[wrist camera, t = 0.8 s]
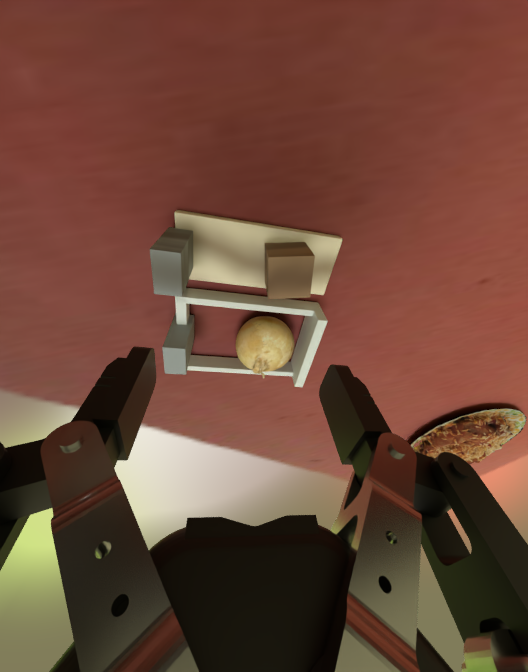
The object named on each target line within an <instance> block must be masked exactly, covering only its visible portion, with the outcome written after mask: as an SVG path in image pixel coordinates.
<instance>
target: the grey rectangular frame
mask: <svg viewBox="0 0 528 672" xmlns="http://www.w3.org/2000/svg"><path fill="white" fill-rule="evenodd" d="M175 301H176V313H175V316H174V319H173V321H172V324H171V326H170V329H169V332H168V334H167V337H166V340H165V342H164V345H163V358H164V368H165V373H169V374H186V372H187V370H194V371H211V372H228V373H245V374H255V373H254V372H253V370H252V369H249V368H247V367H246V366H245V365H244V364H243V363H242V362H241V361H240V360H239V358H228V357H214V356H199V355H191V351H192V346H193V342H194V315H190V304H197V305H207V306H217V307H227V308H236V309H246V310H256V311H266V312H276V313H285V314H295V315H305V318H304V321H303V324H302V328H301V331H300V334H299V337H298V340H297V344H296V347H295V350H294V353H293V356H292V359H291V362H287V363H286V364H285V365H284V366H282V367H281V368H279V369H276V370H273V371H268V372H262V373H264V375H279V376H292V378H293V382H294V386H295V387H303V384H304V382H305V379H306V377H307V374H308V371H309V369H310V366H311V363H312V361H313V358H314V356H315V353H316V350H317V348H318V345H319V342H320V340H321V337H322V335H323V332H324V329H325V327H326V324H327V319H326V317H325V315H324V313H323V311H322V309H321V307H320V305H319V303H318V302H309V301H300V300H291V299H268V297H264V296H255V295H247V294H238V293H229V292H220V291H211V290H202V289H193V288H185V290H184V293H183V296H182V297H180V296H175ZM257 374H258V373H257ZM260 374H261V373H260Z"/></svg>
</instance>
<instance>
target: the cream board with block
mask: <svg viewBox="0 0 528 672" xmlns="http://www.w3.org/2000/svg"><path fill="white" fill-rule="evenodd" d="M342 240H343V239H342V238H341V237H340V236H335V235H329V234H323V233H317V232H311V231H304V230H298V229H292V228H286V227H280V226H274V225H267V224H261V223H255V222H249V221H243V220H237V219H230V218H224V217H218V216H212V215H206V214H199V213H193V212H187V211H181V210H176V211H175V228H172V227H169V228H168V229H167V230H166V231H165V232H164V234H163V235H162V236H161V237H160V238H159V239H158V240H157V241H156V243H155V244H154V245H153V246H152V247H151V248H150V257H151V266H152V276H153V286H154V294H161V295H171V296H180V297H182V296H183V293H184V290H185V288H186V285H187V283H188V280H189V279H192V280H200V281H209V282H217V283H225V284H234V285H242V286H251V287H259V288H266V285H265V243H283V242H305V243H306V244H307V245H308V247H309V248H310V250H311V251H312V252H313V254H314V255H315V260H314V268H313V277H312V285H311V293H310V294H319V295H324V292H325V289H326V287H327V284H328V281H329V278H330V275H331V272H332V269H333V266H334V263H335V260H336V258H337V255H338V252H339V249H340V246H341V243H342Z"/></svg>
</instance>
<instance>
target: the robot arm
mask: <svg viewBox="0 0 528 672" xmlns="http://www.w3.org/2000/svg"><path fill="white" fill-rule="evenodd" d="M155 383H156V365H155V353H154V349H153V348H146V347H133V348H132V350H131V351H130V353H129V355H128V357H127V358H117V359H116V360H114V361H113V362H112V363H110V364H109V365H108V366H107V367H106V368H105V370H104V372H103V373H102V375H101V378H99V379H98V381H97V382H96V384H95V386H94V387H93V389H92V390H91V392H90V393H89V395H88V396H87V398H86V400H85V401H84V403H83V404H82V406H81V407H80V409H79V410H78V412H77V414H76V415H75V417H74V418H73V420H72V421H71V422H70V423H67V424H65V425H62V426H60V427H59V428H57V429H55V430H54V431H53V432H51V433H50V434H49V435H48V436H47V437H46V438H45V439H42V440H38V441H34V442H30V443H25V444H21V445H16V446H12V447H8V448H5V447H4V446H3V444H1V443H0V570H1V568H2V566H3V565H4V563H5V560H6V559H7V557H8V555H9V553H10V551H11V550H12V547H13V546H14V544H15V542H16V540H17V538H18V536H19V535H20V533H21V531H22V529H23V527H24V525H25V523H26V521H27V519H28V518H29V516H30V515H31V514H34V513H37V512H40V511H43V510H46V509H49V508H53V515H54V516H53V518H52V519H51V527H52V534H53V539H54V544H55V549H56V554H57V559H58V564H59V568H60V574H61V579H62V584H63V589H64V593H65V598H66V603H67V608H68V613H69V618H70V623H71V628H72V633H73V638H74V642H73V643H72V644H71V646H70V647H69V648H68V649H67V651H66V652H65V653H64V654H63V656H62V657H61V658H60V659H59V661H58V662H57V663H56V664H55V665H54V667H53V668H52V669H51V670H50V672H454V671H453V670H452V669H451V668H450V667H449V665H448V664H447V663H446V662H445V661H444V659H443V658H442V657H441V656H440V654H439V653H438V652H437V651H436V650H435V648H434V647H433V646H432V645H431V644H430V643H429V641H428V640H427V639H426V638H425V637H424V635H423V634H422V633H421V632H420V630H419V629H418V628H417V614H418V593H419V572H420V553H421V544H422V547H423V549H424V551H425V554H426V556H427V558H428V561H429V563H430V565H431V567H432V570H433V572H434V574H435V577H436V579H437V581H438V584H439V586H440V588H441V591H442V593H443V595H444V597H445V600H446V602H447V604H448V607H449V609H450V611H451V614H452V616H453V618H454V620H455V623H456V625H457V628H458V630H459V632H460V635H461V637H462V639H463V641H464V659H465V661H464V662H463V664H462V672H528V545H527V543H526V542H525V540H524V539H523V538H522V536H521V535H520V533H519V532H518V530H517V529H516V528H515V526H514V525H513V524H512V522H511V521H510V519H509V518H508V516H507V515H506V514H505V512H504V511H503V510H502V508H501V507H500V505H499V504H498V502H497V501H496V500H495V498H494V497H493V496H492V494H491V493H490V491H489V490H488V488H487V487H486V486H485V484H484V483H483V481H482V480H481V479H480V477H479V476H478V474H477V473H476V471H475V470H474V469H473V468H472V467H471V466H470V465H469V464H468V463H467V462H466V461H465V460H464V459H462V458H461V457H459V456H457V455H455V454H453V453H450V452H442V453H440V454H439V455H438V456H437V457H436V458H433V457H430V456H427V455H424V454H421V453H418V452H415V451H414V450H413V448H412V447H411V445H410V444H409V443H408V442H407V441H406V440H404V439H403V438H402V437H400V436H398V435H396V434H393V433H392V432H391V430H390V429H389V427H388V425H387V423H386V421H385V420H384V418H383V416H382V414H381V413H380V411H379V409H378V407H377V405H376V404H375V402H374V400H373V398H372V397H371V396H370V393H369V391H368V389H367V388H366V386H365V385H364V384H363V383H362V382H361V381H360V380H359V379H358V378H357V377H354V376H353V374H352V373H351V371H350V369H349V367H348V366H343V365H330V366H329V368H328V370H327V373H326V375H325V377H324V379H323V382H322V384H321V386H320V391H319V396H320V401H321V404H322V407H323V410H324V413H325V415H326V418H327V421H328V424H329V427H330V430H331V433H332V436H333V439H334V442H335V445H336V448H337V451H338V454H339V457H340V460H341V463H342V464H349V465H353V468H354V471H353V472H352V474H351V477H350V481H349V484H348V487H347V490H346V493H345V496H344V499H343V502H342V506H341V509H340V512H339V514H338V517H337V519H336V520H335V522H334V524H333V526H332V528H331V531H330V530H328V529H326V528H324V527H322V526H320V525H318V523H317V518H316V515H292V516H284V517H281V518H278V519H276V520H273V521H270V522H267V523H265V524H262V525H259V526H250V525H246V524H243V523H239V522H236V521H233V520H229V519H226V518H222V517H204V518H187V525H186V527H185V528H183V529H180V530H177V531H175V532H173V533H171V534H169V535H168V536H166V537H165V538H163V539H162V540H160V541H159V542H158V543H157V544H155V545H154V546H153V547H152V548H151V549H150V550H148V548H147V545H146V543H145V540H144V538H143V536H142V533H141V531H140V528H139V526H138V523H137V521H136V518H135V516H134V513H133V511H132V509H131V506H130V504H129V501H128V499H127V496H126V494H125V492H124V489H123V487H122V484H121V482H120V480H119V479H118V477H117V475H116V472H115V470H114V467H115V465H116V462H117V460H128V457H129V455H130V452H131V449H132V447H133V444H134V441H135V438H136V436H137V433H138V430H139V428H140V425H141V422H142V420H143V417H144V414H145V412H146V409H147V406H148V404H149V401H150V398H151V396H152V393H153V390H154V387H155ZM451 508H452V509H453V511H454V513H455V515H456V517H457V518H458V520H459V522H460V524H461V526H462V527H463V529H464V531H465V533H466V534H467V536H468V538H469V540H470V543H471V546H472V552H471V554H470V553H469V551H468V549H467V547H466V546H465V544H464V542H463V540H462V538H461V537H460V535H459V533H458V531H457V529H456V527H455V525H454V524H453V522H452V520H451V518H450V516H449V514H448V513H447V511H449V510H450V509H451Z"/></svg>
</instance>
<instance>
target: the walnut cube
mask: <svg viewBox="0 0 528 672" xmlns="http://www.w3.org/2000/svg"><path fill="white" fill-rule="evenodd" d="M314 260H315V255H314V254H313V252H312V251H311V250H310V248H309V247H308V245H307V244H306V243H305V242H283V243H265V285H266V290H267V295H268V299H286V298H307V297H310V293H311V285H312V277H313V268H314Z"/></svg>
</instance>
